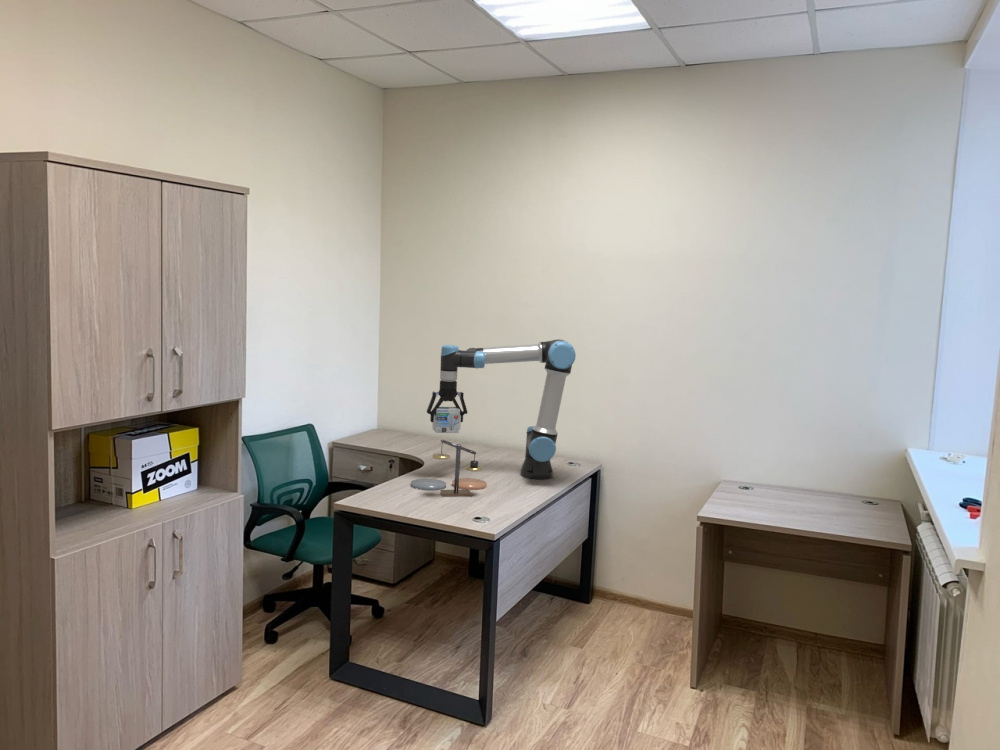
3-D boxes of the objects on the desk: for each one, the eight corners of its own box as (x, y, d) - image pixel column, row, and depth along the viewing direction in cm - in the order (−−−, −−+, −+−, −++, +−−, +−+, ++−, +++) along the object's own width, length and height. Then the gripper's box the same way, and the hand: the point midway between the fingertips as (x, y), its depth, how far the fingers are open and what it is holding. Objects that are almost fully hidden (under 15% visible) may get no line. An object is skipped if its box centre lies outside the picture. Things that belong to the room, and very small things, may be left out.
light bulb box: (435, 433, 336) (436, 409, 335) (433, 430, 343) (433, 406, 341) (459, 433, 339) (460, 409, 338) (456, 430, 345) (457, 406, 344)
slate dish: (442, 481, 338) (442, 478, 337) (449, 490, 323) (449, 487, 323) (408, 481, 333) (408, 478, 333) (413, 490, 319) (414, 487, 319)
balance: (478, 491, 324) (481, 437, 321) (482, 496, 317) (485, 441, 314) (429, 492, 318) (432, 437, 315) (432, 497, 311) (435, 441, 309)
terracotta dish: (481, 480, 342) (482, 477, 342) (490, 489, 328) (490, 486, 328) (448, 480, 338) (449, 478, 338) (456, 490, 324) (456, 487, 324)
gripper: (472, 379, 345) (469, 427, 347) (421, 378, 339) (419, 427, 341) (476, 381, 338) (473, 431, 340) (423, 380, 331) (421, 431, 334)
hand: (446, 429), depth 341 cm, fingers closed on light bulb box, 11 cm apart
